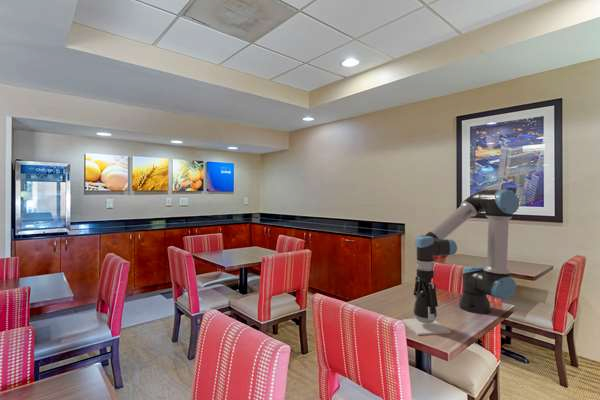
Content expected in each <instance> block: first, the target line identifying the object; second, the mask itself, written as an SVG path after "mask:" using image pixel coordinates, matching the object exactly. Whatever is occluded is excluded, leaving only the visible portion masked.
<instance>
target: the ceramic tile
mask: <svg viewBox="0 0 600 400" xmlns="http://www.w3.org/2000/svg"><path fill="white" fill-rule="evenodd" d="M402 321H404V323H405V324H404V323H403V324H404V325H405V326H407V328H409V329H410V330H411V331H412V332H413V333H414V334H416V336H428V335H441V334H451V333H452V331H451V330H450V329H448V327H446V326H444V325H443V324H441V323H440V322H439V321H437V320H436V319H435V320H434V321H433V322H432V323H429V324H425V323H421V322H419V321H418V320H417V319H416V318H405V319H401V322H402Z"/></svg>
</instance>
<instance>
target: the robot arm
mask: <svg viewBox="0 0 600 400" xmlns="http://www.w3.org/2000/svg"><path fill="white" fill-rule="evenodd" d="M519 207H520V201H519V198H518V196H517V194H515V192H513V191H512V190H509V189H483V190H479V191H476V192H475V193H473V194H471V195H470V196H468V197H467V198H465V199H464V200H463V201H461V203H460V206H459V207H458V208H456V209H455V210H453V212H451V213H450V214H449V215H447V216H446V217H445V218H444V219H443V220H442V221H440V222H439V223H438V224H437V225H436V226H434V227H433V228H432V229H431V230H430V231H428V232H427V233H426V234H423V235H422V234H421V235H418V236H417V237H415V240H414V244H415V247H416V268H417V269H416V276H415V277H414V278H415V282H414V289H413V296H415V299H416V298H417V295H418V293H419V292H420V291H421V290H424V291H425V292H426V295H427V299H428V303H429V306H428V320H429V321H433V320H434V313H435V307H438V306H439V304H438V298H437V291H436V284H435V283H432V279H434V278H435V277H434V276H435V275H434V274H435V273H434V272H435V270H434V269H435V268H434V267H435V266H434V265H435V264H434V263H435V261H434V260H435V257H443V256H447V257H448V256H453V255H455V254H456V253H457V251H458V245H457V243H456V241H455V240H453V239H447V237H448V236H449V235H451V234H452V233H453V232H455V230H456V229H458V228H459V227H460V226H462V225H463V224H464V223H465V222H466V221H468V220H469V219H470V218H471V217H476V215H478V214H480V213H485V214H484V216H485V217H486V218H487V219H488V230H487V231H488V232H487V250H486V251H487V254H486V266H484V265H467V266H464V267H463V268H462V275H461V276H462V278H461V279H462V294H461V296H460V299H459V302H458V306H459V308H460V309H461V310H464V311H467V312H470V313H475V314H488V313H490V312H491V311H492V310H491V304H490V300H489V298H488V296H489V297H492V298H494V299H499V300H501V301H502V300H508V299H510V298H511V297H512V296H513V294H514V293H515V291H516V288H517V286H516V285H517V283H516V281H515V280H514V279H513V278H512V277H511V272H510V270H509V269H508V250H509V249H508V247H509V224H510V223H509V221H510V220H512V218H513V214H514V213H516V212H517V211H518V210H519Z"/></svg>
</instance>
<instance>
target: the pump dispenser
mask: <svg viewBox="0 0 600 400" xmlns="http://www.w3.org/2000/svg"><path fill="white" fill-rule="evenodd" d="M413 306H414V307H413V315H414V317H415V319H417V320H418V321H419V322H421V323H425V324H429V323H432V322H433V321H434V320H436V318H437V315H438V313H437V308H436V307H435V313H434V320H433V321H429V320H428V306H429V303H428V299H427V295H426V292H425V291H424V290H421V291H420V292H419V293H418V295H417V298H416V297H415V302H414V305H413Z"/></svg>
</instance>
